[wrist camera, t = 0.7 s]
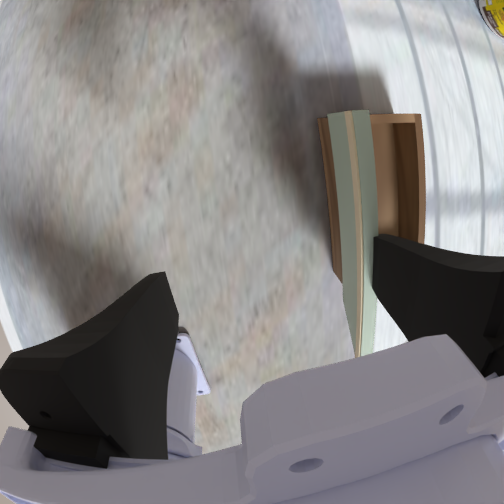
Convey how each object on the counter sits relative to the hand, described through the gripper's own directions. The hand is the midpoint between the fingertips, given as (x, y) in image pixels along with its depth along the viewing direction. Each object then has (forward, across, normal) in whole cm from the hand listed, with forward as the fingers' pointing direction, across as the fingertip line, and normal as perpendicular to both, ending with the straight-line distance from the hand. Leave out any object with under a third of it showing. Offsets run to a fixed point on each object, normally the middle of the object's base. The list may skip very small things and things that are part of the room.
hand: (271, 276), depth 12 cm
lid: (+3, -5, 0) cm, 6 cm away
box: (+11, -9, 0) cm, 14 cm away
